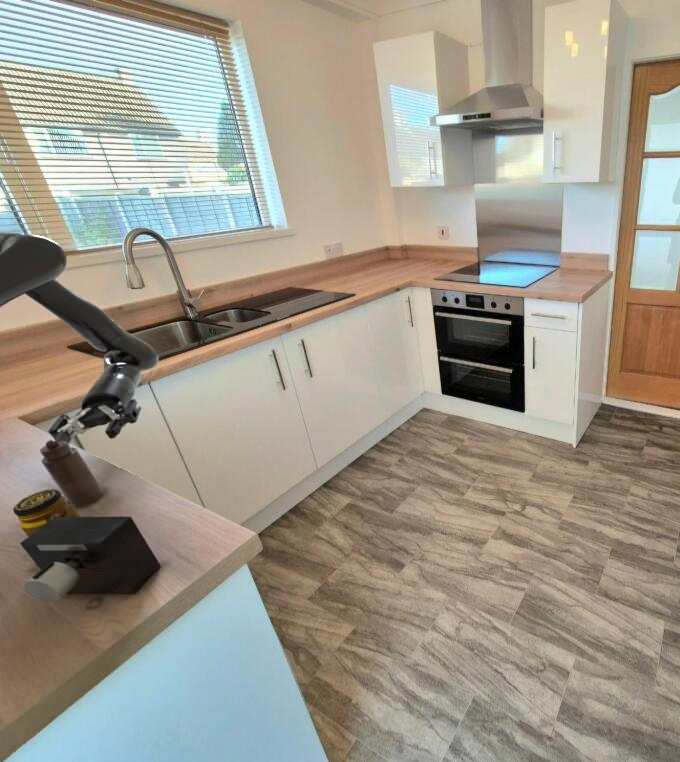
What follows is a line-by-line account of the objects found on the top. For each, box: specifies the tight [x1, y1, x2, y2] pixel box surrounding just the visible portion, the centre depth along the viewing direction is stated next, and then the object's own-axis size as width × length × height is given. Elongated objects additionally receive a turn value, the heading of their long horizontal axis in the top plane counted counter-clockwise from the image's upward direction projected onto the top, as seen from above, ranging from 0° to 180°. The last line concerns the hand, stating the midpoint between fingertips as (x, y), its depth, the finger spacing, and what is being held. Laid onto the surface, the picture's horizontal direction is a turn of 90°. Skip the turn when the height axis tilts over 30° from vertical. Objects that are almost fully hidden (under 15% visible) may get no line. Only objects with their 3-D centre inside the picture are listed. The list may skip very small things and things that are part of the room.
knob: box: [23, 558, 81, 603], centre depth 59 cm, size 5×4×5 cm
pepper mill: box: [39, 439, 105, 509], centre depth 81 cm, size 5×5×14 cm
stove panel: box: [19, 515, 162, 595], centre depth 63 cm, size 5×12×11 cm, turn 87°
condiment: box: [12, 488, 82, 538], centre depth 69 cm, size 7×8×12 cm
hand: (84, 441), depth 86 cm, fingers open, 8 cm apart
